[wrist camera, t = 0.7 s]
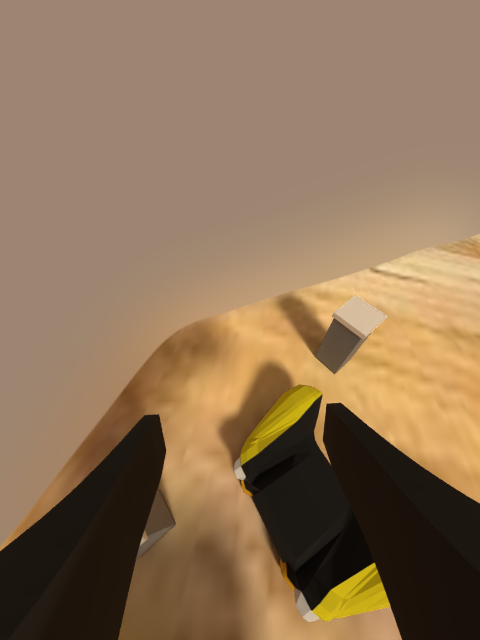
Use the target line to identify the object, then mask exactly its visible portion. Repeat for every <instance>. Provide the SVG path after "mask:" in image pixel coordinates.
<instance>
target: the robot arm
mask: <svg viewBox="0 0 480 640" xmlns="http://www.w3.org/2000/svg"><path fill="white" fill-rule="evenodd" d="M323 442H324V445H325V448H326V451H327V454H328V457H329V460H330V462H331V465H332V467H333V470H334V472H335V474H336V476H337V478H338V481H339V483H340V485H341V487H342V489H343V491H344V493H345V496H346V498H347V500H348V502H349V504H350V506H351V508H352V510H353V513H354V515H355V517H356V519H357V521H358V523H359V525H360V528H361V530H362V532H363V535H364V537H365V539H366V542H367V544H368V547H369V549H370V552H371V555H372V557H373V560H374V563H375V565H376V568H377V570H378V573H379V576H380V578H381V581H382V584H383V587H384V590H385V592H386V595H387V598H388V601H389V603H390V606H391V609H392V612H393V614H394V617H395V620H396V623H397V626H398V629H399V632H400V635H401V638H402V640H480V503H478V502H476V501H475V500H473V499H471V498H469V497H468V496H466V495H465V494H463V493H461V492H460V491H458V490H456V489H455V488H453V487H452V486H450V485H449V484H447V483H446V482H444V481H443V480H441V479H439V478H438V477H436V476H435V475H433V474H432V473H430V472H429V471H427V470H426V469H424V468H423V467H422V466H420V465H419V464H417V463H416V462H415V461H413V460H412V459H410V458H409V457H408V456H406V455H405V454H404V453H402V452H401V451H399V450H398V449H397V448H396V447H394V446H393V445H392V444H390V443H389V442H388V441H386V440H385V439H384V438H383V437H381V436H380V435H379V434H378V433H376V432H375V431H374V430H373V429H372V428H370V427H369V426H368V425H367V424H365V423H364V422H363V421H362V420H361V419H359V418H358V417H357V416H356V415H355V414H354V413H352V412H351V411H350V410H349V409H348V408H346V407H345V406H344V405H343V404H341V403H331V404H327V406H326V415H325V425H324V434H323ZM165 455H166V447H165V442H164V437H163V432H162V427H161V422H160V417H159V414H158V415H144V416H143V418H142V419H141V420H140V421H139V422H138V423H137V424H136V425H135V426H134V427H133V428H132V430H131V431H130V432H129V433H128V434H127V435H126V436H125V437H124V438H123V440H122V441H121V442H120V443H119V444H118V445H117V446H116V447H115V448H114V449H113V450H112V451H111V453H110V454H109V455H108V456H107V457H106V458H105V459H104V460H103V461H102V462H101V463H100V464H99V465H98V466H97V467H96V468H95V469H94V470H93V471H92V472H91V473H90V474H89V475H88V476H87V477H86V478H85V479H84V480H83V481H82V482H81V483H80V484H79V485H78V486H77V487H76V488H75V489H74V490H73V491H72V492H70V493H69V494H68V495H67V496H66V497H65V498H64V499H63V500H62V501H61V502H59V503H58V504H57V505H56V506H55V507H54V508H53V509H51V510H50V511H49V512H48V513H47V514H46V515H45V516H43V517H42V518H41V519H40V520H39V521H37V522H36V523H35V524H34V525H32V526H31V527H30V528H29V529H27V530H26V531H25V532H24V533H22V534H21V535H20V536H19V537H18V538H16V539H15V540H14V541H13V542H11V543H10V544H9V545H8V546H6V547H5V548H4V549H3V550H1V551H0V640H118V637H119V632H120V628H121V623H122V619H123V614H124V609H125V605H126V600H127V596H128V591H129V587H130V583H131V578H132V574H133V570H134V565H135V561H136V557H137V554H138V550H139V547H140V543H141V540H142V537H143V533H144V530H145V527H146V524H147V521H148V518H149V514H150V511H151V508H152V505H153V502H154V498H155V495H156V492H157V489H158V485H159V482H160V479H161V475H162V470H163V465H164V460H165Z"/></svg>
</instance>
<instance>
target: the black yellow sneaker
mask: <svg viewBox="0 0 480 640" xmlns="http://www.w3.org/2000/svg"><path fill="white" fill-rule="evenodd" d="M321 399H322V392H321V391H319V390H318V389H316V388H314V387H311V386H306V385H298V386H296V387H294V388H292V389H290V390H288V391H286V392H284V393H283V394H282V396H281V397H280V398H279V399H278V400H277V402H276V403H275V404H274V405H273V407H272V408H271V409H270V410H269V411H268V413H267V414H266V415H265V416H264V417H263V419H262V420H261V421H260V422H259V424H258V425H257V426H256V428H255V429H254V430H253V432H252V433H251V434H250V436H249V437H248V438H247V440H246V441H245V443H244V445H243V447H242V451H241V455H240V457H239V459H238V460H237V461H236V462H235V464H234V472H235V475H236V477H237V479H240V480H241V483H242V488H243V492H245V493H246V494H248V495H249V496H251V497H252V499H253V502H254V504H255V506H256V508H257V510H258V512H259V514H260V516H261V518H262V520H263V523H264V525H265V527H266V529H267V531H268V533H269V535H270V537H271V539H272V541H273V544H274V546H275V548H276V550H277V552H278V554H279V556H280V565H281V573H282V575H283V577H284V579H285V581H286V582H287V583H288V585H289V586H290V588H291V589H292V590H293V591H294V592H295V603H296V607H297V608H298V610H299V612H300V614H301V616H302V617H303V618H304V619H305V620H307V621H308V622H312V621H315V620H319V619H322V620H324V621H329V622H330V621H331V620H332V619H333V618H342V617H346V616H351V615H355V614H360V613H364V612H369V611H373V610H378V609H382V608H387V607H391V606H390V603H389V601H388V598H387V595H386V592H385V590H384V587H383V584H382V581H381V578H380V576H379V573H378V570H377V568H376V565H375V563H374V560H373V557H372V555H371V552H370V549H369V547H368V544H367V542H366V539H365V537H364V535H363V532H362V530H361V528H360V525H359V523H358V521H357V519H356V517H355V515H354V513H353V510H352V508H351V506H350V504H349V502H348V500H347V498H346V496H345V493H344V491H343V489H342V487H341V485H340V483H339V481H338V478H337V476H336V474H335V472H334V470H333V468H332V466H331V465H330V463H329V462H328V460H327V459H326V457H325V456H324V454H323V453H322V452H321V450H320V449H319V447H318V445H317V443H316V441H315V436H314V429H315V425H316V421H317V418H318V414H319V409H320V404H321Z"/></svg>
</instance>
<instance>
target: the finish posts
mask: <svg viewBox="0 0 480 640" xmlns="http://www.w3.org/2000/svg"><path fill="white" fill-rule="evenodd" d="M332 317H334V319H333V321H332V323H331V325H330V327H329V329H328V331H327V333H326V335H325V337H324V339H323V341H322V343H321V345H320V347H319V349H318V351H317V353H316V354H315V357H316V358H317V359H318V360H319V361H320V362H321V363H323V364H324V365H325V366H326V367H327V368H328V369H329V370H330V371H332V372H333V373H334V374H335V373H336V372H338V371H339V370H340V369H341V368H342V367H343V366H344V365H345V364H346V363H347V362H348V361H349V360H350V359H351V358H352V357H353V355H354V354H355V353H356V352H357V350H358V349H359V348H360V346H361V345H362V344H363V343H364V341H365V340H366V339H367V337H368V336H369V335H370V334H371V332H372V331H373V330H374V329H375V328H376V327H378V326H379V325H380V324H381V323H382V322H383V321H384V320H385V319H386V318H387V315H385V314H384V313H382V312H381V311H379V310H377V309H376V308H374V307H373V306H371V305H370V304H368V303H367V302H365V301H364V300H362V299H361V298H359V297H358V296H356V295H355V296H354V297H352V298H351V299H350V300H349V301H347V302H346V303H345V304H344V305H342V306H341V307H340V308H339V309H337V310H336V311H335V312H334V313H333V315H332ZM175 524H176V523H175V521H174V519H173V517H172V515H171V513H170V511H169V509H168V507H167V505H166V503H165V501H164V499H163V497H162V495H161V492H160V490H158V489H157V492H156V495H155V498H154V502H153V505H152V508H151V511H150V514H149V518H148V521H147V524H146V527H145V530H144V533H143V537H142V540H141V543H140V547H139V550H138V554H137V557H136V559H137V558H139V557H141V556H143V555H144V554H145V553H146V552H147V551H148V550H149V549H150V548H151V547H152V546H153V545H154V544H155V543H156V542H157V541H158V540H159V539H161V538H162V537H163V536H164V535H165V534H166V533H167V532H168V531H169V530H170V529H171V528H172V527H173V526H174V525H175Z"/></svg>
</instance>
